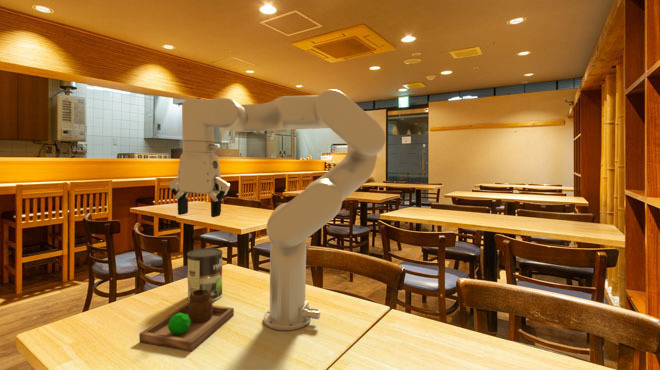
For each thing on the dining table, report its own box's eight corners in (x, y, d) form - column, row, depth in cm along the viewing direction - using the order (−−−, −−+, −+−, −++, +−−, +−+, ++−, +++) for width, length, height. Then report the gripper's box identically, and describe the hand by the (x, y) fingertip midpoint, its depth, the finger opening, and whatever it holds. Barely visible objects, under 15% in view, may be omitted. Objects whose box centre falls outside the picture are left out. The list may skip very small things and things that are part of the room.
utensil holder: (214, 320, 88) (214, 275, 87) (188, 325, 85) (188, 279, 84) (210, 311, 93) (210, 269, 92) (186, 316, 90) (185, 272, 89)
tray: (233, 315, 92) (233, 308, 92) (191, 351, 75) (191, 342, 74) (189, 309, 95) (189, 301, 95) (139, 342, 78) (139, 333, 78)
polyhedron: (175, 327, 84) (175, 308, 83) (194, 328, 83) (194, 310, 83) (164, 337, 79) (163, 318, 78) (183, 339, 78) (183, 319, 78)
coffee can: (227, 290, 109) (227, 248, 108) (215, 304, 99) (215, 257, 98) (195, 289, 110) (195, 247, 108) (181, 303, 99) (180, 256, 98)
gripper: (236, 149, 87) (236, 215, 88) (179, 149, 91) (180, 211, 92) (220, 148, 80) (220, 219, 81) (159, 148, 84) (160, 215, 85)
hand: (199, 215), depth 87 cm, fingers open, 9 cm apart
